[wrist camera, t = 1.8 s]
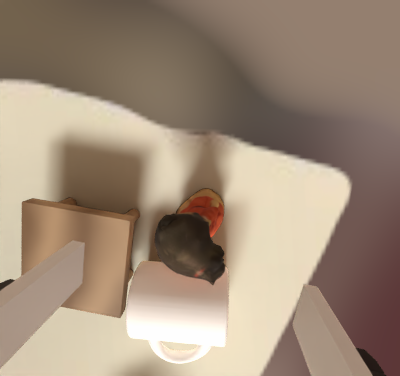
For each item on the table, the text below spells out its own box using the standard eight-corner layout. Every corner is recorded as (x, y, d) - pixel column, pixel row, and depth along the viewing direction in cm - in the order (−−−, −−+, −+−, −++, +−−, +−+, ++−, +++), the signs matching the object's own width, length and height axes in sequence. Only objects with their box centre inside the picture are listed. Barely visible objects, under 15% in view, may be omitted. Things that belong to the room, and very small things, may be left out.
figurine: (232, 193, 29) (241, 231, 17) (221, 237, 30) (222, 300, 19) (180, 181, 29) (154, 210, 18) (170, 225, 30) (140, 280, 19)
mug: (147, 248, 31) (124, 285, 24) (227, 254, 31) (230, 294, 23) (148, 331, 34) (126, 389, 26) (221, 337, 33) (222, 399, 25)
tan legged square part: (56, 270, 33) (21, 298, 27) (59, 189, 31) (21, 201, 25) (138, 285, 32) (120, 318, 27) (147, 204, 30) (130, 221, 24)
